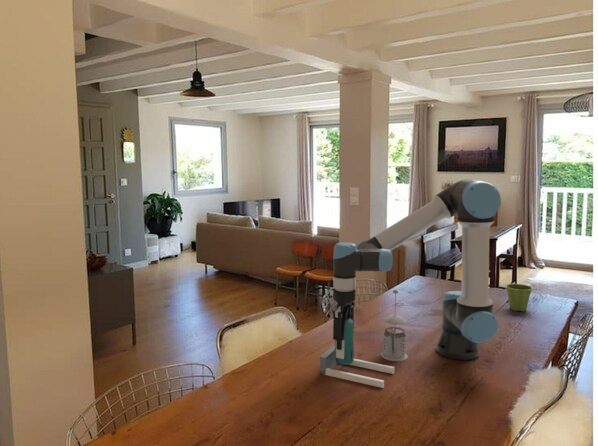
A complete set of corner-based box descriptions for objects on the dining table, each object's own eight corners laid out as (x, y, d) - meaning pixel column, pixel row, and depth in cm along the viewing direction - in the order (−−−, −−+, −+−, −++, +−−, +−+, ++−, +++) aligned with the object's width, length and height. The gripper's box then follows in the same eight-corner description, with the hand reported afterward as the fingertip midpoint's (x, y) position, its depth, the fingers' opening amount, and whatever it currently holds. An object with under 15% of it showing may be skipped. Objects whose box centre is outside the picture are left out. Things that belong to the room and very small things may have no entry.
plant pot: (532, 308, 228) (534, 285, 226) (529, 314, 218) (531, 291, 216) (506, 304, 234) (507, 282, 232) (502, 310, 224) (503, 287, 222)
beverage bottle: (352, 369, 157) (353, 312, 155) (333, 368, 159) (333, 311, 156) (354, 361, 164) (355, 306, 161) (335, 360, 165) (336, 305, 163)
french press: (409, 352, 176) (410, 287, 173) (405, 364, 165) (407, 296, 162) (382, 348, 179) (384, 285, 176) (377, 361, 168) (379, 293, 165)
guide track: (394, 372, 159) (394, 355, 158) (382, 388, 148) (383, 370, 147) (334, 360, 169) (335, 344, 169) (320, 373, 158) (320, 356, 158)
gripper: (344, 281, 167) (343, 343, 170) (322, 294, 151) (322, 362, 154) (364, 283, 164) (363, 347, 167) (344, 297, 148) (343, 367, 151)
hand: (343, 354), depth 160 cm, fingers closed on beverage bottle, 5 cm apart
